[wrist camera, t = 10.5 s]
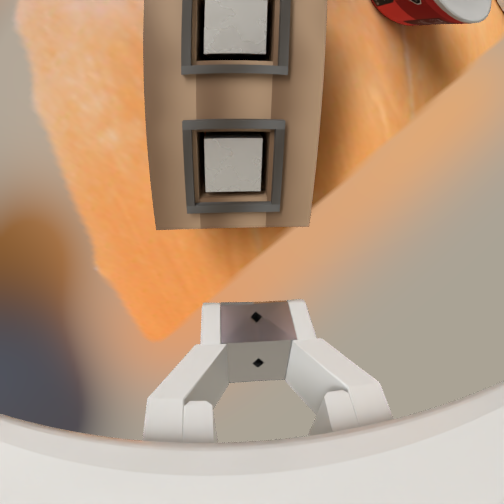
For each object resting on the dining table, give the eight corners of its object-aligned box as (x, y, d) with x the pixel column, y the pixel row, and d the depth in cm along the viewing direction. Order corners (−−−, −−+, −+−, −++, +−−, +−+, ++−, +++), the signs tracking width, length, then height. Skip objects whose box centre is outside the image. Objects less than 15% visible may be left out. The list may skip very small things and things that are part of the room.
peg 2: (251, 118, 29) (262, 138, 21) (250, 157, 31) (260, 191, 23) (208, 118, 28) (204, 138, 21) (209, 157, 30) (205, 192, 23)
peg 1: (254, 19, 23) (267, 0, 16) (252, 58, 25) (265, 54, 18) (209, 19, 23) (205, -1, 15) (209, 58, 25) (203, 53, 17)
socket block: (295, -3, 23) (330, -31, 14) (286, 182, 34) (310, 230, 25) (168, -4, 22) (144, -35, 13) (172, 183, 32) (155, 233, 24)
